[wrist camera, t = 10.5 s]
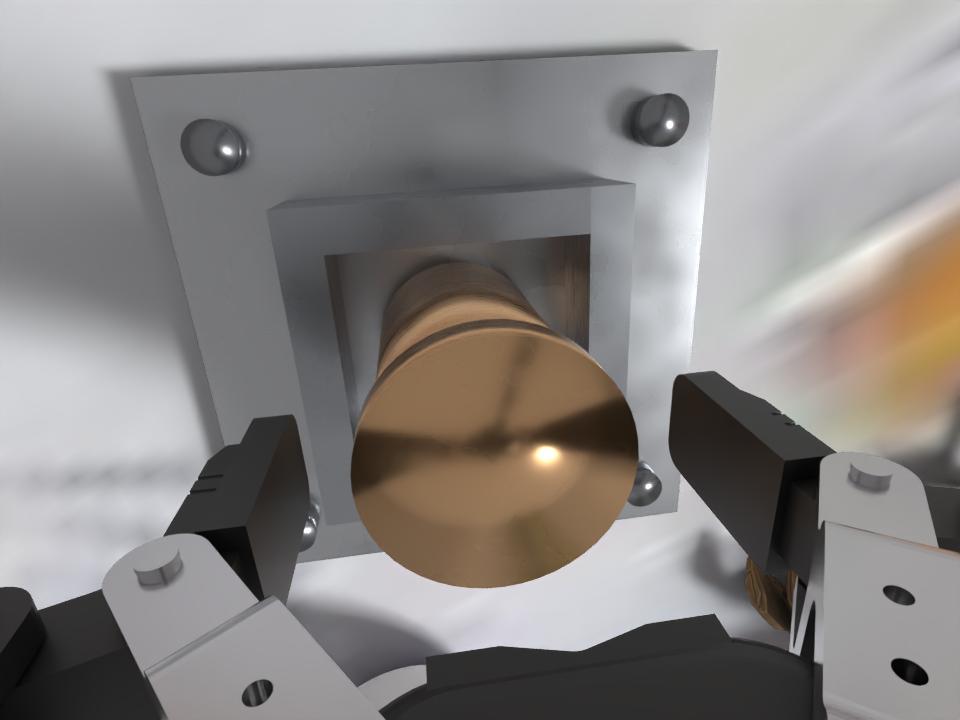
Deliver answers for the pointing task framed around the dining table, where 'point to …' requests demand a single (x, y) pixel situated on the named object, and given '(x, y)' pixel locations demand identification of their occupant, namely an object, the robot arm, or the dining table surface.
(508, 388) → the round knob
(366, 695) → the ornament
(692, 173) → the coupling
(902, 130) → the dining table surface
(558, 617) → the dining table surface
